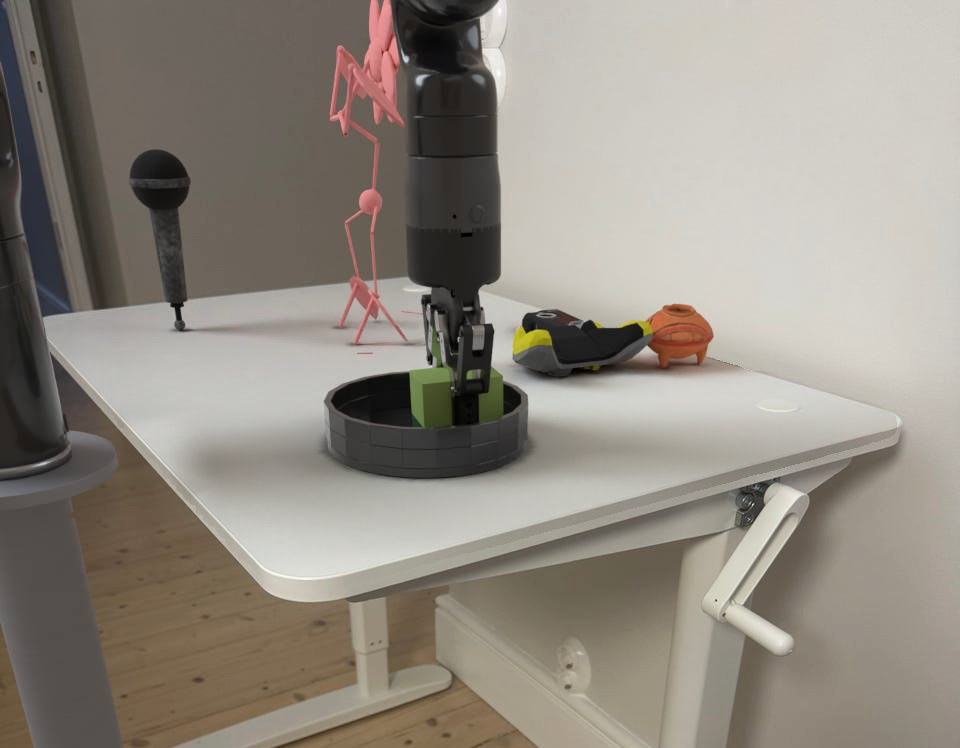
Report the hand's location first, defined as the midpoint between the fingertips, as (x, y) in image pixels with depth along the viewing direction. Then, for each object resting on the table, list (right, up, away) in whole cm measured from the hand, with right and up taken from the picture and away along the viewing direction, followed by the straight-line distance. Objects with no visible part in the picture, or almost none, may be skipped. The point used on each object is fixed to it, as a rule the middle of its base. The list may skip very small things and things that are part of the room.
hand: (457, 428), depth 86 cm
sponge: (0, 0, 0) cm, 0 cm away
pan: (-3, -1, 0) cm, 3 cm away
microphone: (-35, +20, +36) cm, 54 cm away
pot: (+23, +12, +24) cm, 36 cm away
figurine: (-8, +19, +36) cm, 41 cm away
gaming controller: (+12, +11, +21) cm, 26 cm away
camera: (+11, +19, +35) cm, 42 cm away
